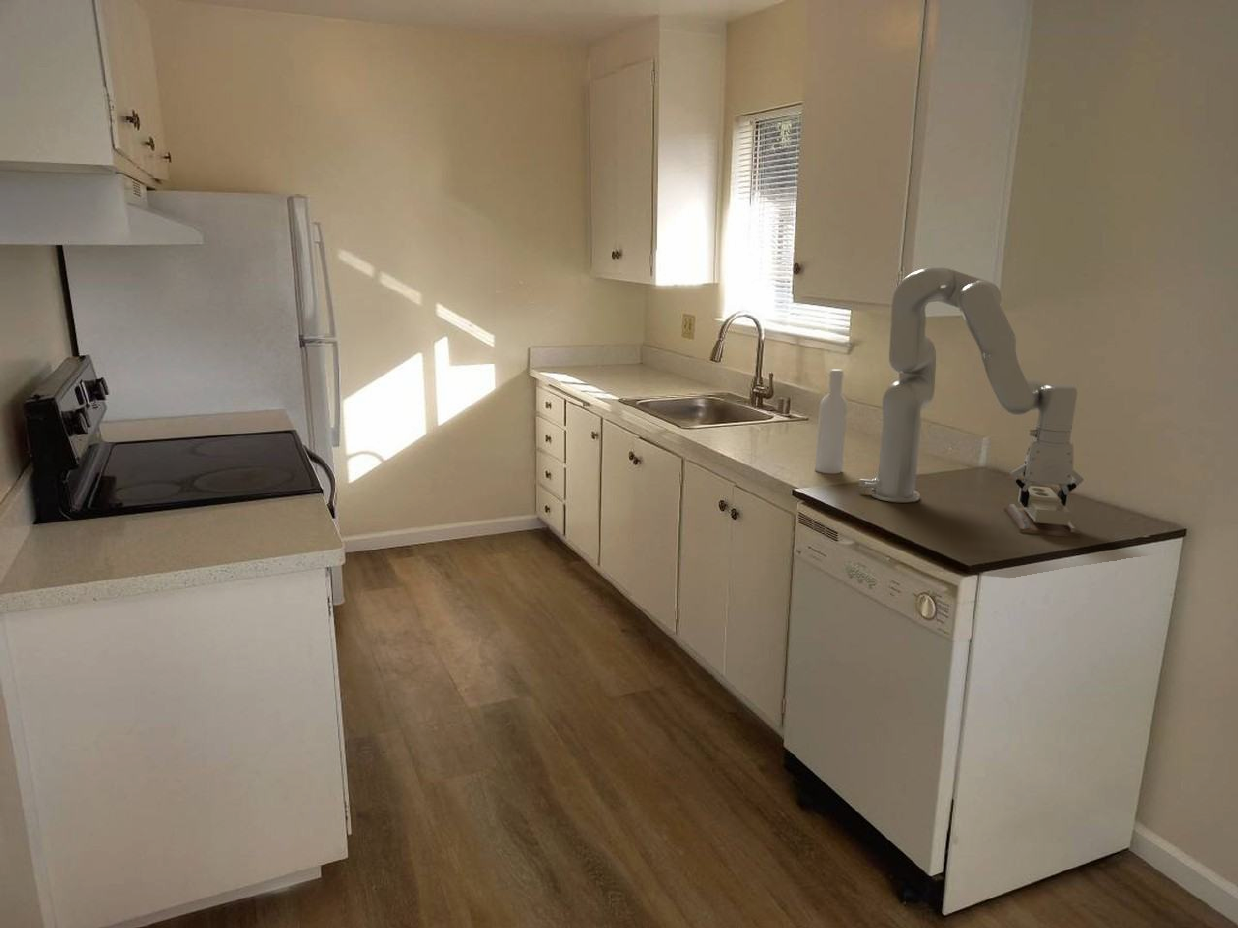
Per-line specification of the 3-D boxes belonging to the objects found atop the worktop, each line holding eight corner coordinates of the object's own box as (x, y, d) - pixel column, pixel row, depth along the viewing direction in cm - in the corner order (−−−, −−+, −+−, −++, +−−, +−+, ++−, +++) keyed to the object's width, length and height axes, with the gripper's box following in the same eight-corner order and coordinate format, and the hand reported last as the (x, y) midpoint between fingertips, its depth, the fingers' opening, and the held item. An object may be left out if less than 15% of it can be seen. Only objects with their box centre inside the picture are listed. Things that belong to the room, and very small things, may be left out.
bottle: (816, 466, 261) (824, 367, 253) (843, 468, 258) (852, 369, 250) (813, 472, 253) (821, 370, 246) (840, 475, 251) (849, 372, 243)
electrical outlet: (1037, 505, 200) (1020, 484, 217) (1034, 521, 201) (1017, 500, 218) (1070, 508, 199) (1050, 487, 216) (1067, 524, 200) (1048, 502, 217)
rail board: (1019, 532, 203) (1020, 524, 203) (1004, 510, 220) (1005, 502, 220) (1079, 537, 200) (1080, 529, 200) (1059, 514, 217) (1060, 507, 217)
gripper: (1016, 437, 203) (1006, 508, 208) (1097, 442, 200) (1084, 515, 204) (1010, 430, 210) (1000, 499, 215) (1087, 435, 207) (1075, 506, 211)
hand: (1041, 506), depth 209 cm, fingers closed on electrical outlet, 7 cm apart
